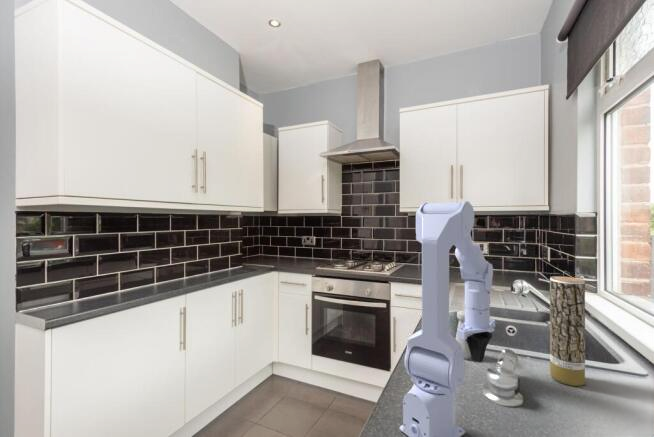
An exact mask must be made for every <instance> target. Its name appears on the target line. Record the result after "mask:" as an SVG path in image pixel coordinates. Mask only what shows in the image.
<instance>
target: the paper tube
mask: <svg viewBox="0 0 654 437" xmlns="http://www.w3.org/2000/svg"><path fill="white" fill-rule="evenodd" d="M549 348H550V349H549V368H550V370H549V371H550V374H549V375H550V376H551V378H553V380H555V381H557V382H559V383H561V384H563V385H565V386H566V385H567V386H572V387H581V386H583V385H584V384H585V383H586V283H585V280H584V279H582V278H577V277H572V276H571V277H570V276H559V275H558V276H550V278H549Z"/></svg>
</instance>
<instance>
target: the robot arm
mask: <svg viewBox="0 0 654 437" xmlns="http://www.w3.org/2000/svg"><path fill="white" fill-rule="evenodd" d="M474 224H475V211H474V207H473V205H472V204H471V202H470V201H468V200H467V201H466V200H465V201H461V202H460V201H459V202H455V201H454V202H434V203H433V202H432V203H430V202H429V203H428V202H423V203H422V204H420V206H419V208H418V209H417V211H416V212H415V234H416V235H415V240H416V241H417V242H418V243H420V244H421V329H420V330H418V331H416V332H414V333H413V334H411V335H410V336H409V337H408V339H407V343H406V351H405V354H404V367H405V371H406V372H407V374H408V375H409V376H410V382H412V383H413V385H412V388H411V389H410V390H409V391H408V392H407V393H406V394H405V395H404V396H403V400H402V425H400V426H399V430H400V431H401V432H402V433H404V434H405V435H406V436H408V437H462V436H463V435H465V434H466V430H465V429H464V428H462V427H461V426H459V425H458V424H456V399H455V398H456V395H455V394H456V393H455V392H457V391H458V390H460V389H461V387H462V386H463V383H464V380H465V376H466V361H465V359H464V358H463V349H462V345H461V344H460V343H459V342H458V341H457V340H456V337H454V336H453V334H451V332H450V250H451V248H452V247H453V246H454V247H455V251H454V255H455V257H456V260H457V262H458V263H459V270H460V271H459V272H460V276H461V280H462V281H463V282H464V310H465V322H464V323H463V325H462V326H461V328H459V329H457V330H456V334H457V337H458V338H461V339H464V340H466V342H467V344H468V347H469V350H470V353H471V357H472V359H471V360H472V361H474V362H476V363H480V364H481V363H482V362H483V361H484V358H485V353H486V350H487V348H488V345H489V342H490V341H491V339H492V338H493V332H495V328H496V319H493V318H491V314H490V313H491V311H490V308H491V307H490V304H491V300H490V297H491V295H490V291H491V290H492V283H493V276H494V267H493V264H492V263H490V262H489V260H486V259H485V256H484V254H483V251H482V248H481V247H480V245H479V244H477V242H474V241H473V238H472V235H471V233H472V231H473V228H474Z"/></svg>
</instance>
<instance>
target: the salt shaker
mask: <svg viewBox="0 0 654 437" xmlns="http://www.w3.org/2000/svg"><path fill="white" fill-rule="evenodd" d="M456 317H457V320H458V323H457V329H459V328H461V326H462V325H463V323H464V322H465V309H464V310H463V309H462V310H459V311H457V312H456ZM455 339H456V340H457V341H458V342H459V343H460V344H461V345H462V349H463V358H464V360H472V357H471V353H470V350H469V347H468V344H467V342H466V340H464V339H461V338H458V337H457V333H456V335H455Z"/></svg>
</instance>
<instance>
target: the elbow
mask: <svg viewBox="0 0 654 437" xmlns="http://www.w3.org/2000/svg"><path fill="white" fill-rule="evenodd" d="M518 359H519V357H518V355H517V353H516V352H515V351H514V350H511V349H510V348H504V349H502V350H500V353H499V356H498V358H497V360H496V364H495V366H494V367H489V368H487V370H486V379H487V380H486V381H487V383H488V384H490V385H491V386H493V387H495V388H497V389H500V390H505V391H514V390H516V389H517V388H518V377H519V376H518V375H517V374H516V373H515V370H516V368H517V367H516V366H517V364H518Z"/></svg>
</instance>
